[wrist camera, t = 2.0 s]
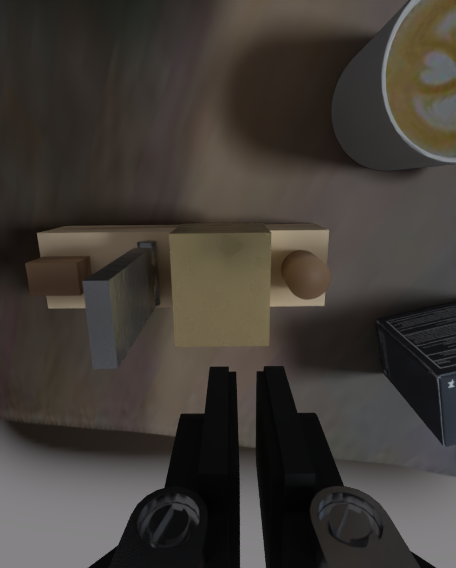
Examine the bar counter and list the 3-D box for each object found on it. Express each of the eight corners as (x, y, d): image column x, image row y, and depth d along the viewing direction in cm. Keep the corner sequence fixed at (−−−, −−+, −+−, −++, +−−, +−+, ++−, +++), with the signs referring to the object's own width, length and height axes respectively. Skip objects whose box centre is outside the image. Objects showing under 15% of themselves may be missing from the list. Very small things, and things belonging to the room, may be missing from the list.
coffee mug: (306, 99, 29) (344, 56, 19) (411, 6, 27) (510, -92, 18) (397, 226, 32) (471, 243, 22) (498, 148, 30) (625, 131, 20)
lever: (139, 240, 27) (79, 276, 16) (158, 240, 27) (110, 276, 16) (144, 301, 28) (91, 372, 17) (162, 301, 28) (120, 372, 17)
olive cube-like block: (182, 223, 27) (168, 233, 21) (262, 222, 27) (271, 232, 21) (186, 314, 29) (175, 346, 23) (261, 313, 29) (269, 345, 23)
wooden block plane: (66, 225, 32) (13, 238, 24) (313, 223, 32) (341, 235, 24) (74, 290, 33) (27, 322, 26) (310, 288, 33) (335, 319, 25)
